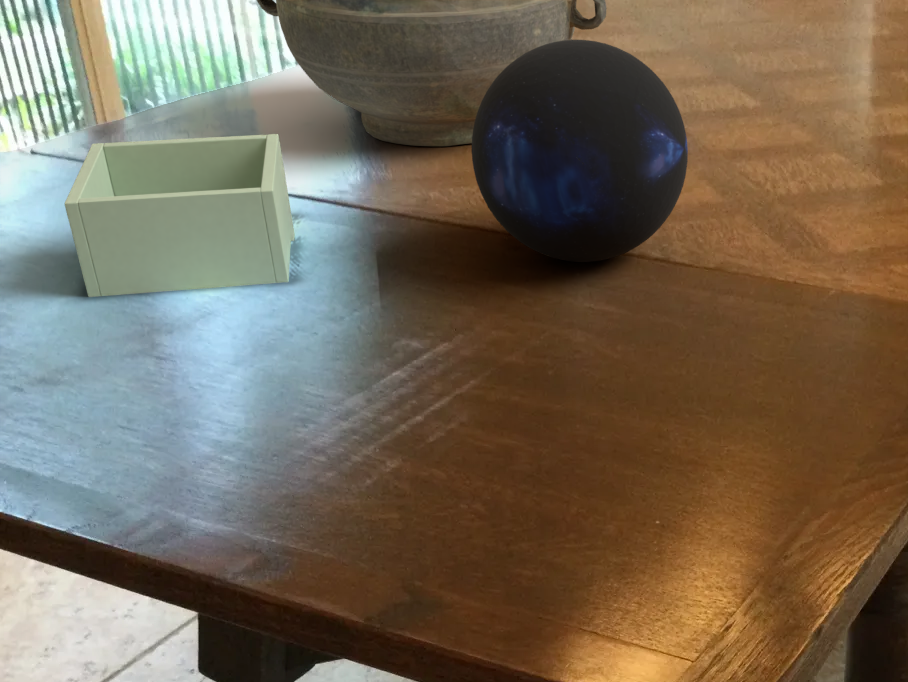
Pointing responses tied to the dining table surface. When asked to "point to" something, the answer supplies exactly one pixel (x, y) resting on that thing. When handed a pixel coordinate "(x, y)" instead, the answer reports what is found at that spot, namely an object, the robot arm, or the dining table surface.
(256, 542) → the dining table surface
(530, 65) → the decorative sphere
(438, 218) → the dining table surface
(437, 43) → the bowl
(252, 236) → the green open box
